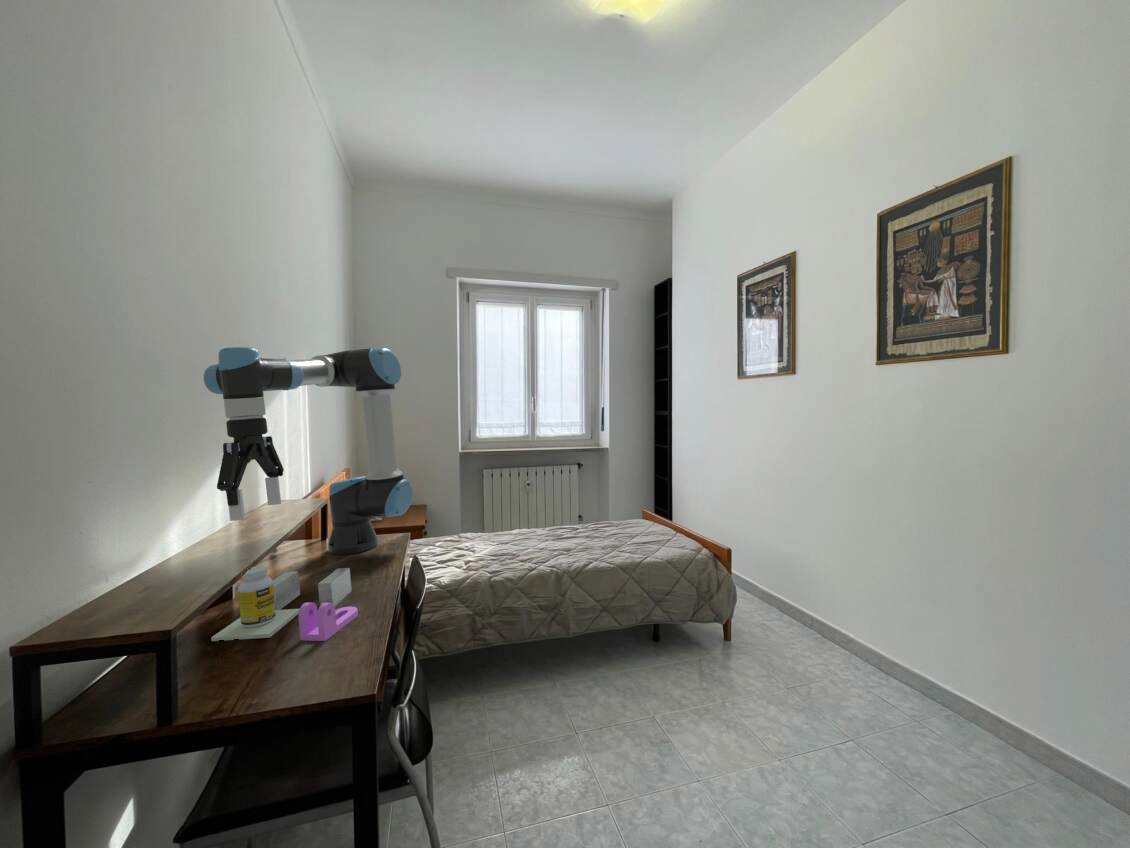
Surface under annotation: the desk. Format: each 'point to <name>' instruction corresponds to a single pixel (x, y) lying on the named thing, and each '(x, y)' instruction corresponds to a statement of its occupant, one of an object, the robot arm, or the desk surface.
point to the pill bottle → (256, 598)
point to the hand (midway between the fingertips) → (257, 511)
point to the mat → (260, 631)
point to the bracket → (323, 620)
